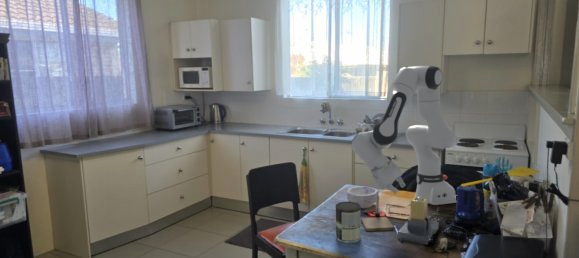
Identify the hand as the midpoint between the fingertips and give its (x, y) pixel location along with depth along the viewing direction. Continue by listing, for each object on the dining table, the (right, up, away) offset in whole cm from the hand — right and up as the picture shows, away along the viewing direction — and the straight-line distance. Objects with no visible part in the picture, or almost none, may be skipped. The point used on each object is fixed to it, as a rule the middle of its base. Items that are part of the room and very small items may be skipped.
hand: (400, 189), depth 175 cm
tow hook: (-6, -16, +21) cm, 27 cm away
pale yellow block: (+7, -11, -3) cm, 14 cm away
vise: (+7, -18, -1) cm, 20 cm away
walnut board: (-8, -17, +9) cm, 21 cm away
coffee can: (-23, -20, -3) cm, 30 cm away
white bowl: (-10, -13, +35) cm, 39 cm away
